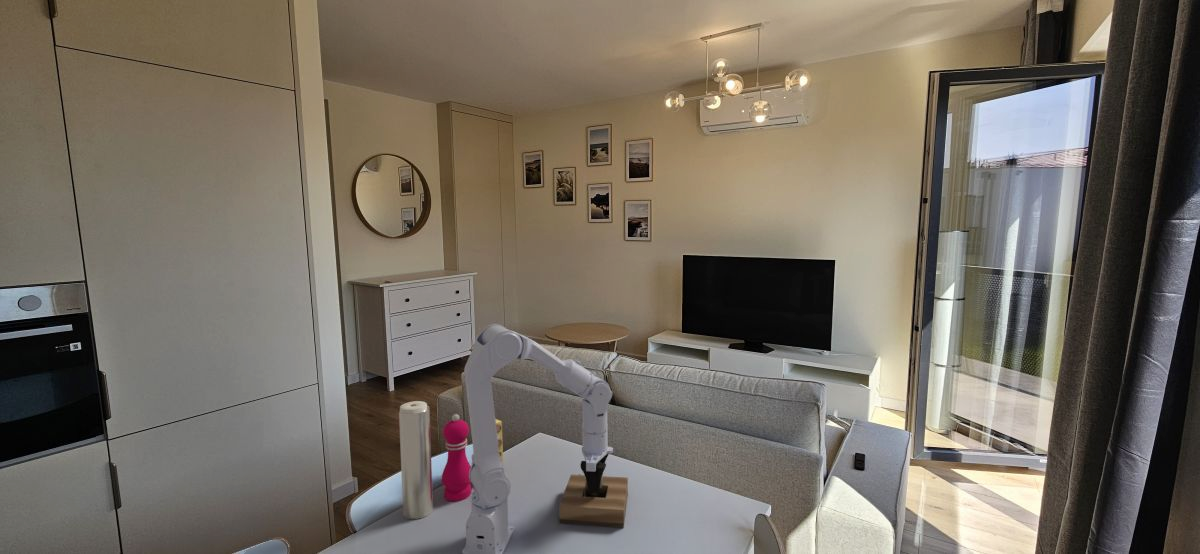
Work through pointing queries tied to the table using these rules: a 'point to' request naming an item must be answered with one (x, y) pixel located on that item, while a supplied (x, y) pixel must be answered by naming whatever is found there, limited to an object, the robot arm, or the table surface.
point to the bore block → (594, 503)
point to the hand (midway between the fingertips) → (595, 487)
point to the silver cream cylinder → (416, 459)
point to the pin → (599, 495)
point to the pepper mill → (456, 461)
